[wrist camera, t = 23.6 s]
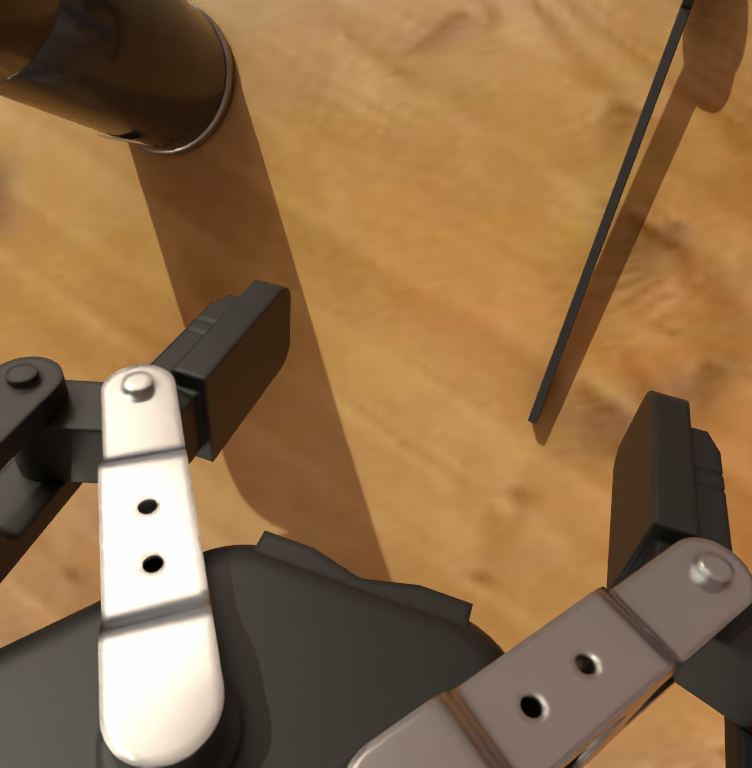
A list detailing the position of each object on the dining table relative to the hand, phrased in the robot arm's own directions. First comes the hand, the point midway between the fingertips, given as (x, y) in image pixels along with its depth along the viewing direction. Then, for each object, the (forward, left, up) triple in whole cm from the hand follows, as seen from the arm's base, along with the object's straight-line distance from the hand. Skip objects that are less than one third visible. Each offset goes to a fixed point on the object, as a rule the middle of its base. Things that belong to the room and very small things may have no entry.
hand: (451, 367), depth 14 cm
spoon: (+5, -2, -24) cm, 24 cm away
